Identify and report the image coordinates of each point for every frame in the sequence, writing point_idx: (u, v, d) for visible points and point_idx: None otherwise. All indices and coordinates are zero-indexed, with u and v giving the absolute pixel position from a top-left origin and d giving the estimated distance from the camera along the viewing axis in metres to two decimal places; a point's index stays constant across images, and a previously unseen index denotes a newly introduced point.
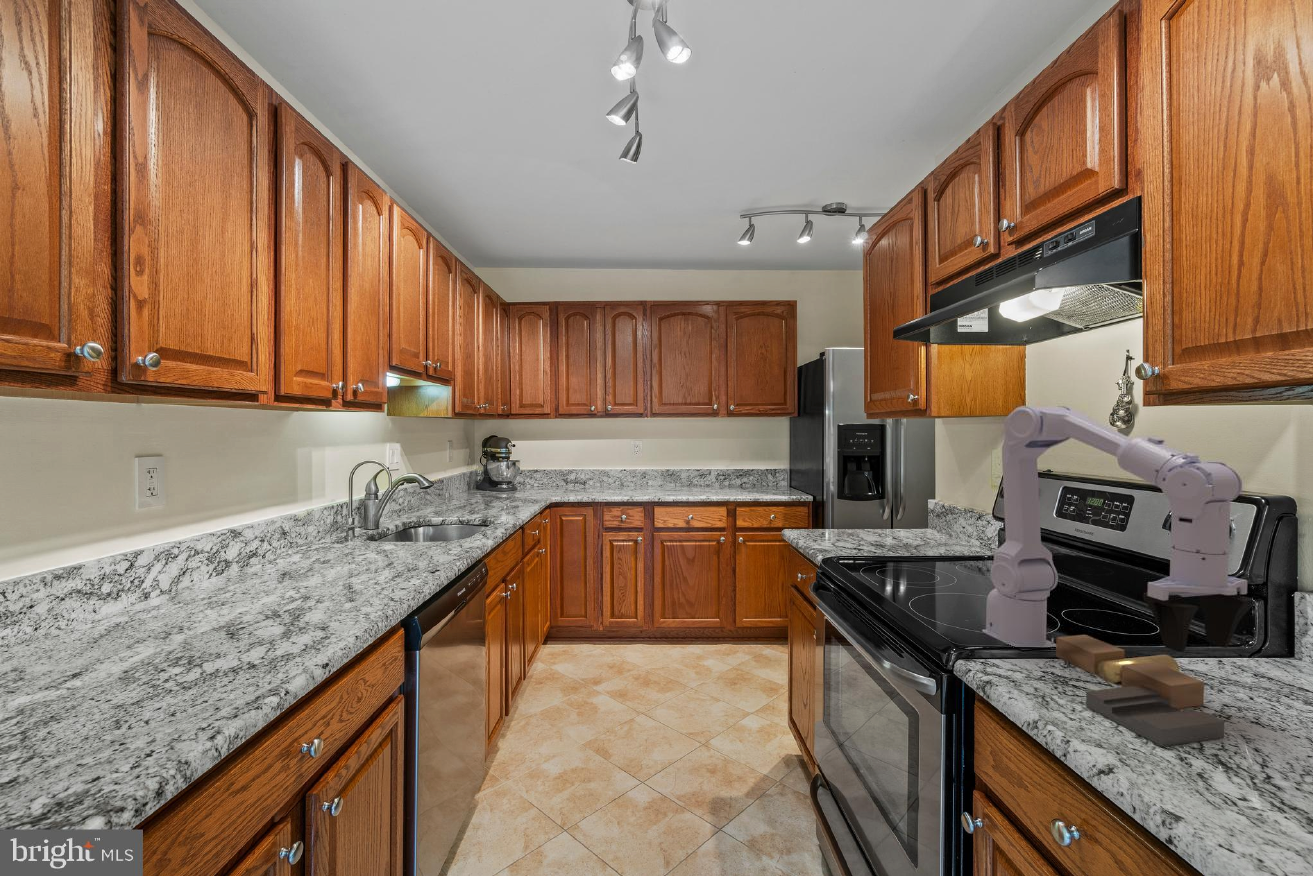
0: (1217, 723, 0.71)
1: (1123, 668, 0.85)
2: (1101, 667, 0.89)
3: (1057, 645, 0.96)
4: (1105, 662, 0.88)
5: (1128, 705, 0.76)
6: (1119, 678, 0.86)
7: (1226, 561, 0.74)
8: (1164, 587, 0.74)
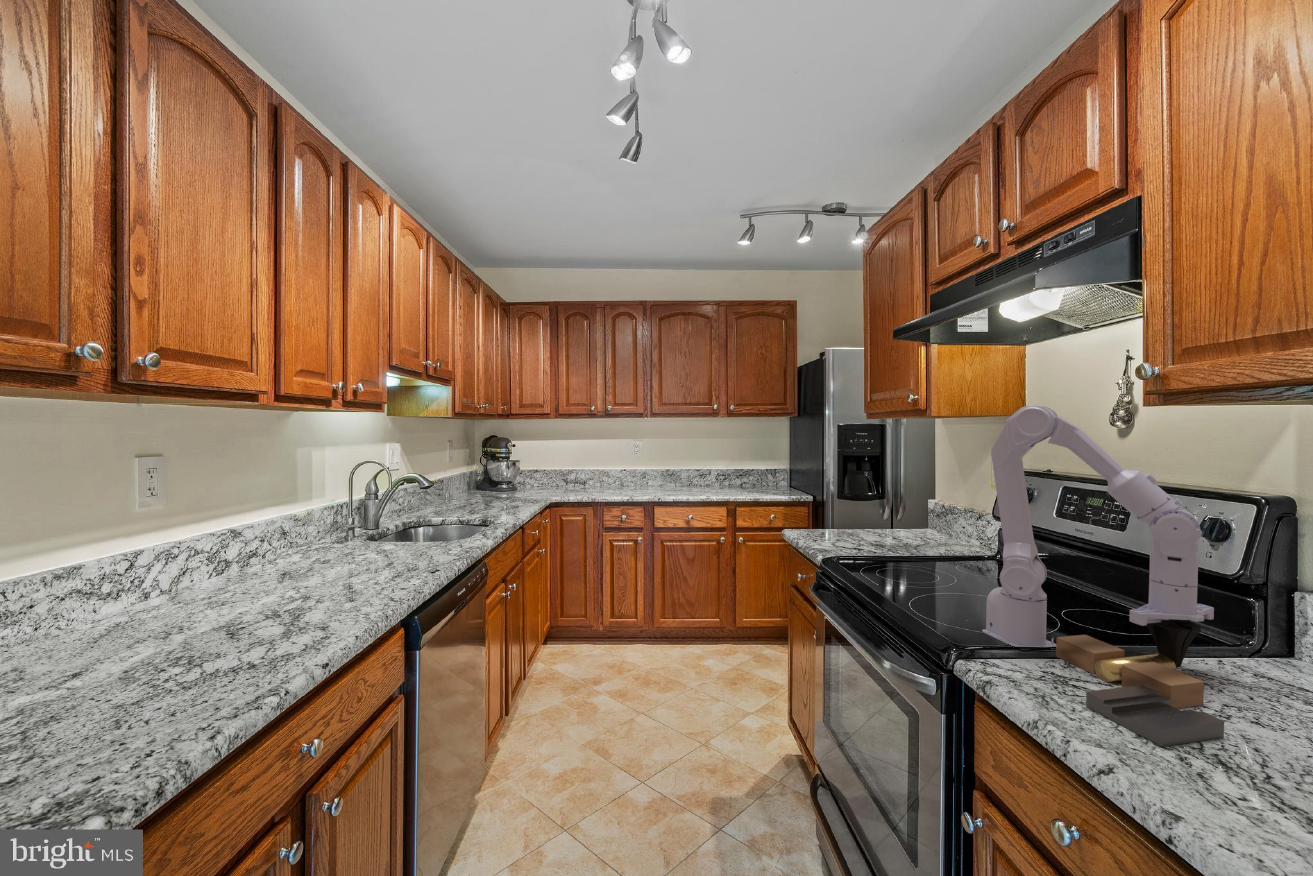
0: (1217, 723, 0.71)
1: (1123, 668, 0.85)
2: (1097, 666, 0.88)
3: (1057, 645, 0.96)
4: (1102, 661, 0.88)
5: (1128, 705, 0.76)
6: (1116, 677, 0.86)
7: (1195, 592, 0.87)
8: (1143, 614, 0.87)
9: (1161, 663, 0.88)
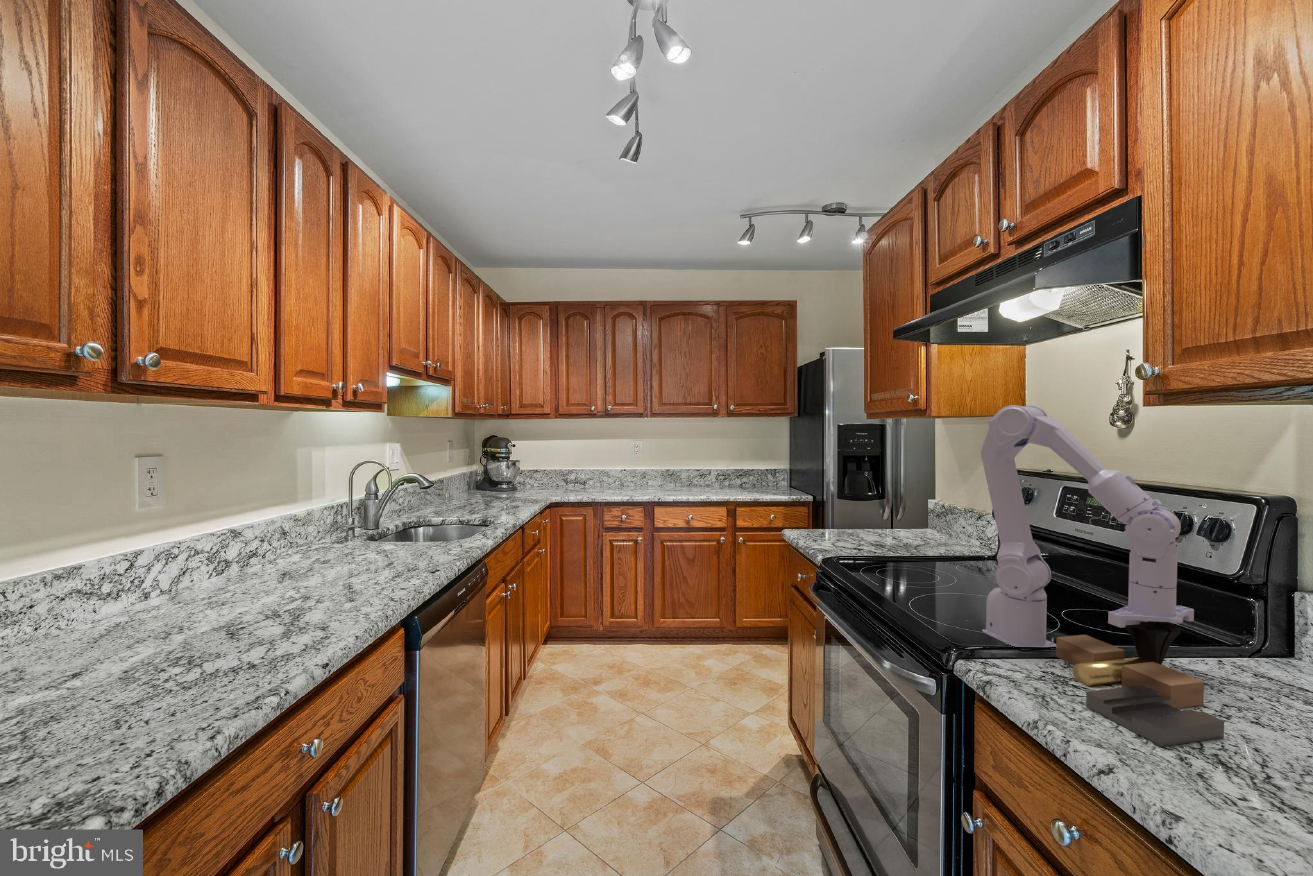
0: (1217, 723, 0.71)
1: (1123, 668, 0.85)
2: (1075, 670, 0.88)
3: (1057, 645, 0.96)
4: (1079, 665, 0.87)
5: (1128, 705, 0.76)
6: (1093, 681, 0.85)
7: (1174, 594, 0.86)
8: (1121, 616, 0.86)
9: None
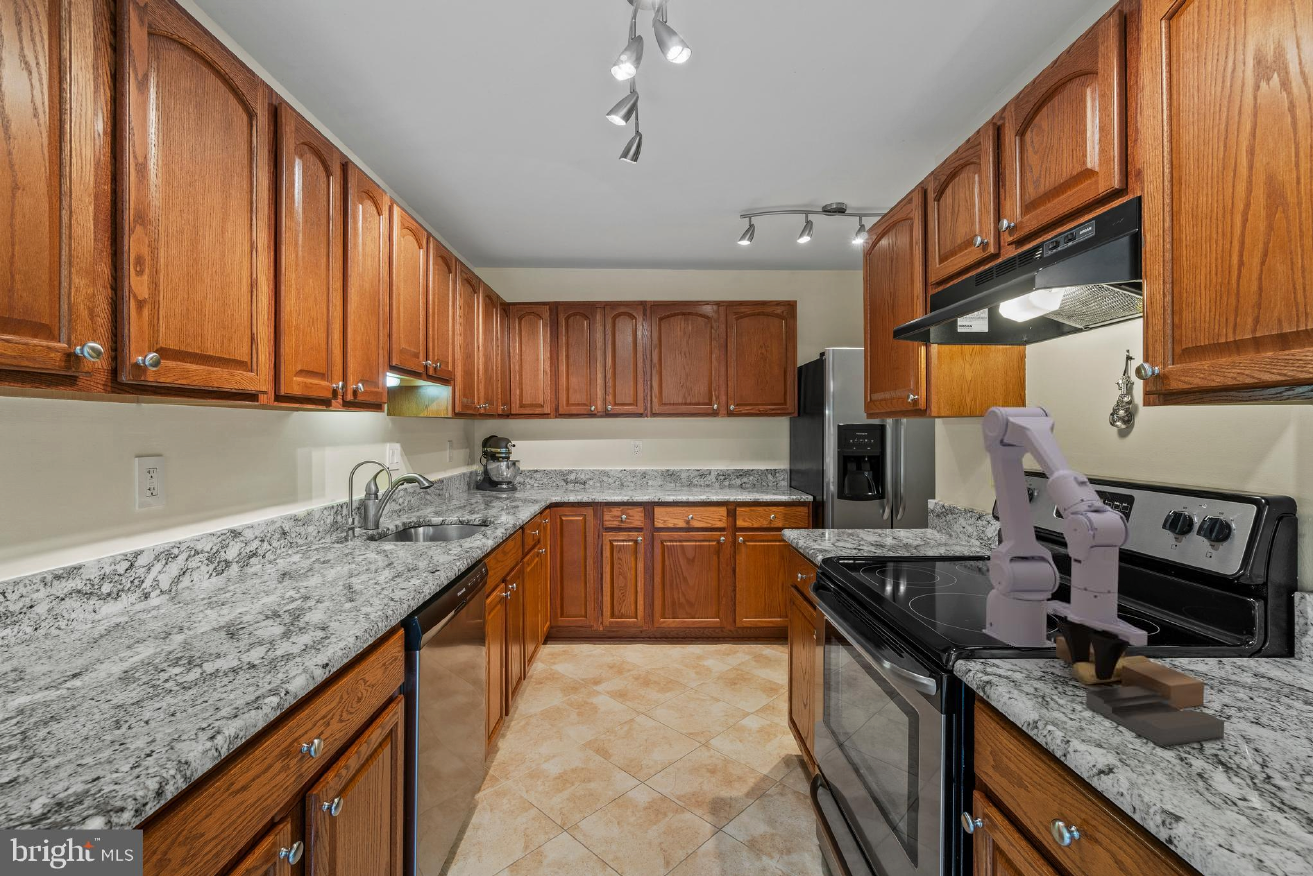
0: (1217, 723, 0.71)
1: (1123, 668, 0.85)
2: (1076, 669, 0.88)
3: (1057, 645, 0.96)
4: (1080, 663, 0.87)
5: (1128, 705, 0.76)
6: (1094, 680, 0.85)
7: (1083, 596, 0.85)
8: (1048, 602, 0.93)
9: None
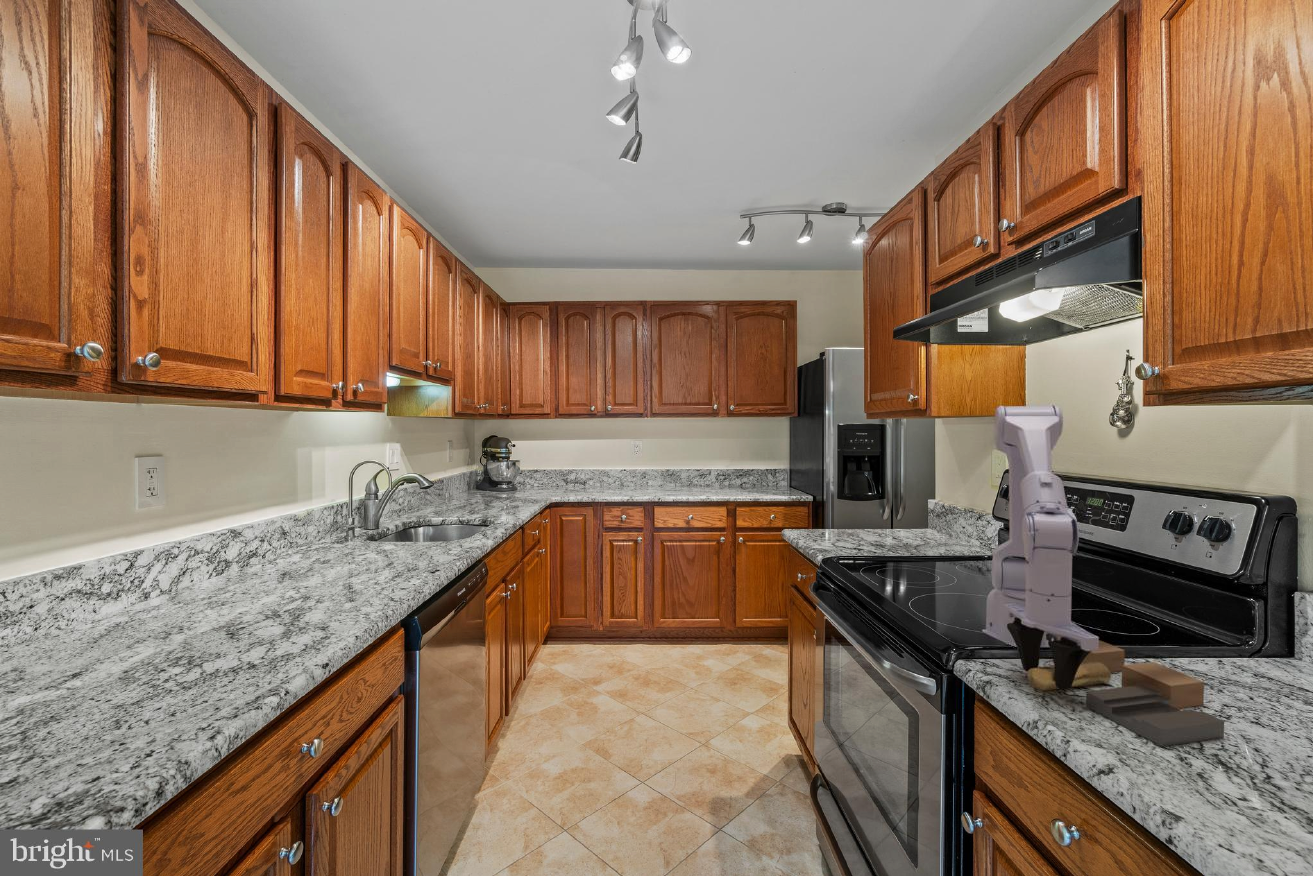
0: (1217, 723, 0.71)
1: (1123, 668, 0.85)
2: (1030, 675, 0.86)
3: None
4: (1034, 669, 0.85)
5: (1128, 705, 0.76)
6: (1047, 686, 0.84)
7: (1036, 599, 0.84)
8: (1004, 605, 0.92)
9: (1095, 671, 0.86)
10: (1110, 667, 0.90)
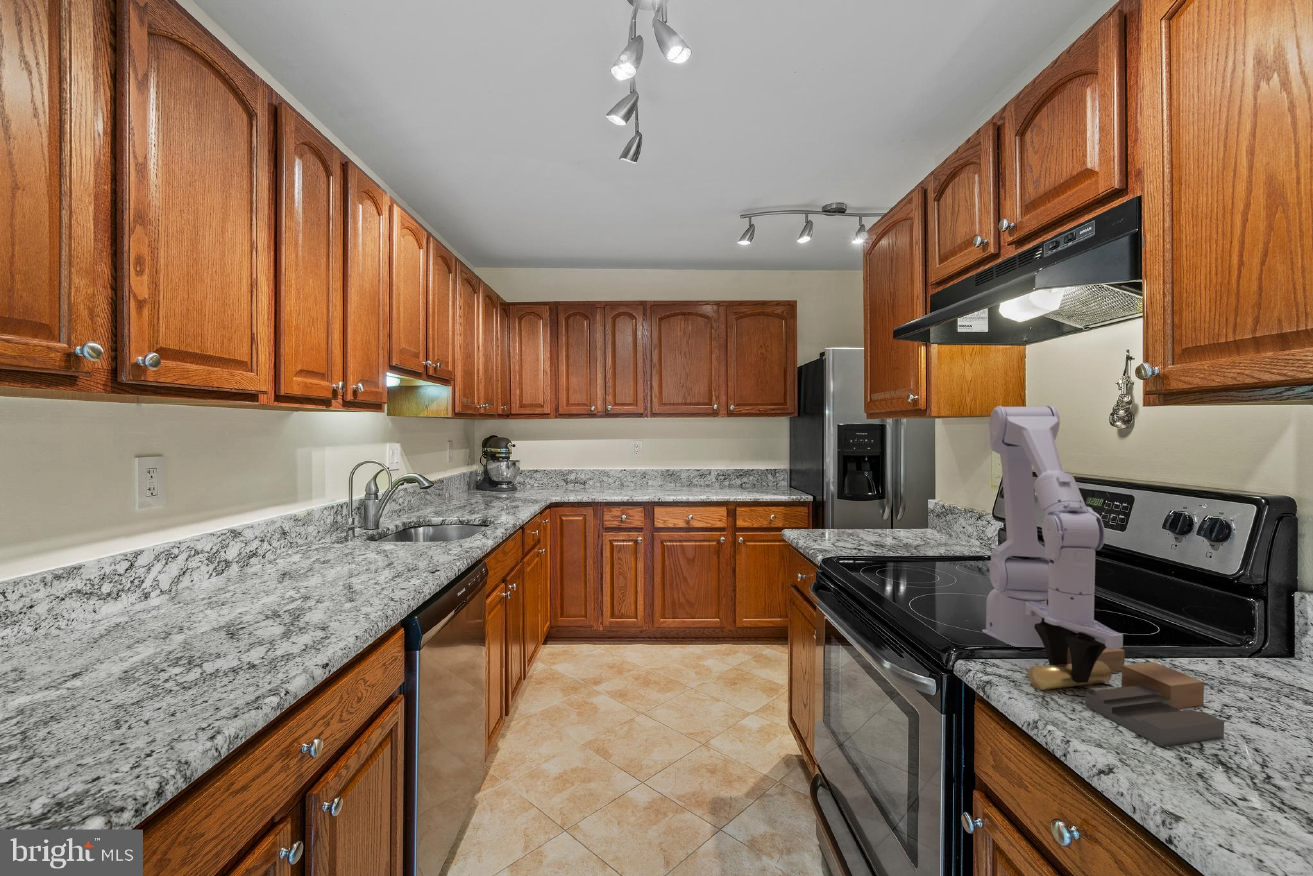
0: (1217, 723, 0.71)
1: (1123, 668, 0.85)
2: (1030, 674, 0.86)
3: None
4: (1034, 668, 0.85)
5: (1128, 705, 0.76)
6: (1048, 685, 0.83)
7: (1060, 598, 0.84)
8: (1026, 604, 0.93)
9: (1096, 671, 0.85)
10: (1110, 667, 0.90)
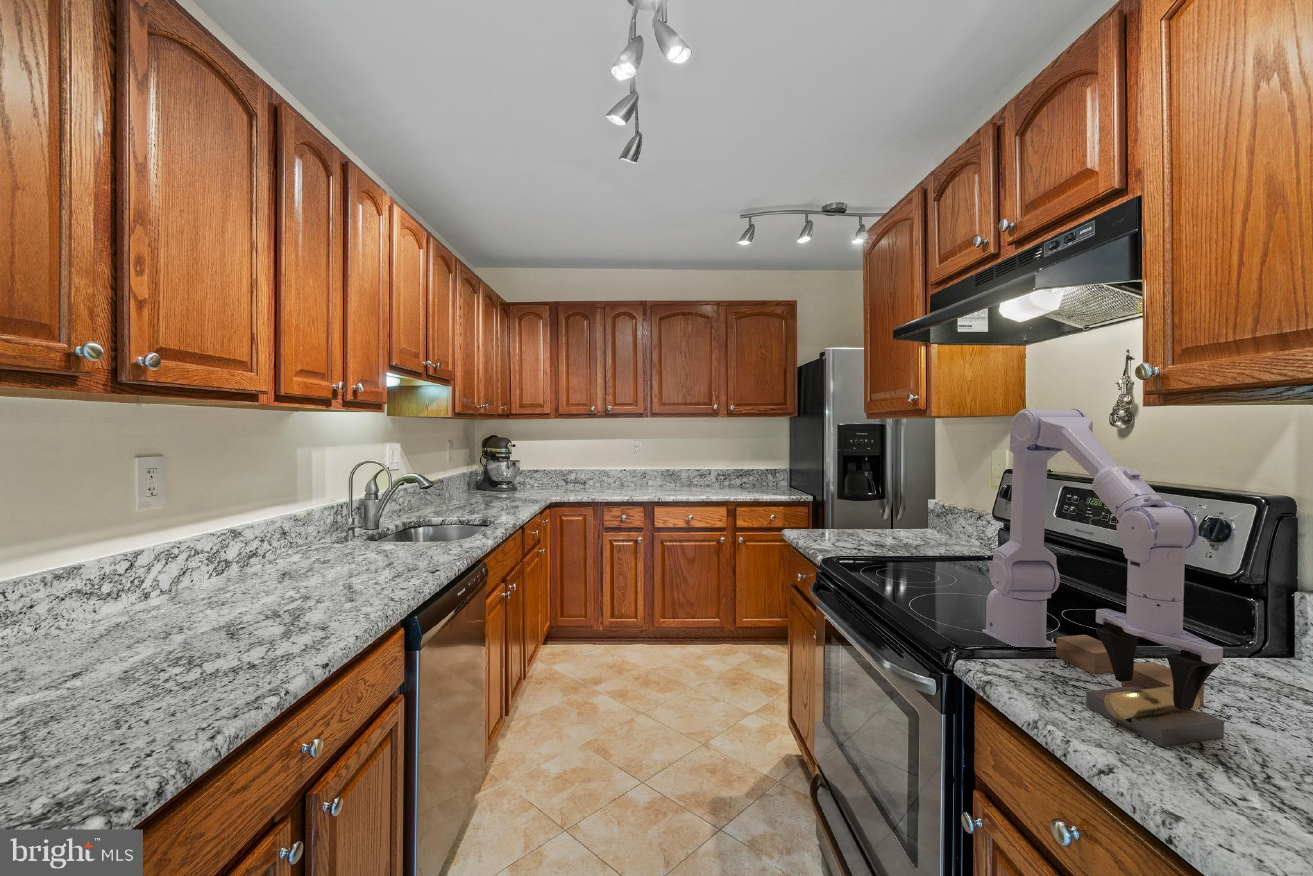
0: (1217, 723, 0.71)
1: None
2: (1108, 701, 0.75)
3: (1057, 645, 0.96)
4: (1112, 694, 0.75)
5: None
6: (1130, 714, 0.73)
7: (1143, 604, 0.74)
8: (1097, 610, 0.82)
9: None
10: (1110, 667, 0.90)
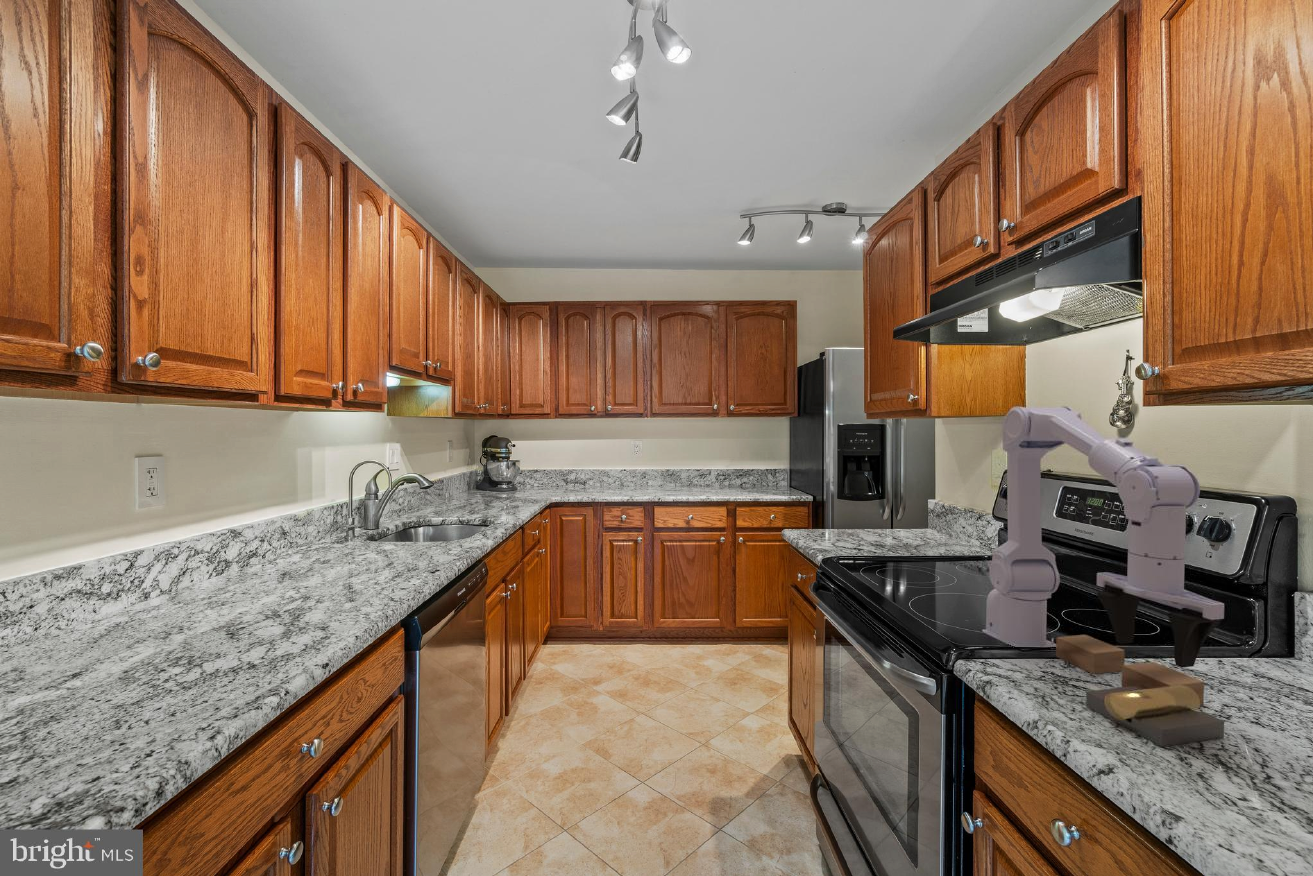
0: (1217, 723, 0.71)
1: (1123, 668, 0.85)
2: (1108, 701, 0.75)
3: (1057, 645, 0.96)
4: (1112, 694, 0.75)
5: None
6: (1130, 714, 0.73)
7: (1144, 564, 0.74)
8: (1098, 574, 0.82)
9: (1182, 696, 0.75)
10: (1110, 667, 0.90)
